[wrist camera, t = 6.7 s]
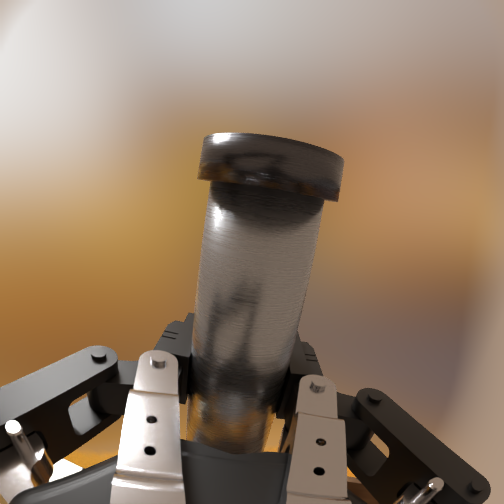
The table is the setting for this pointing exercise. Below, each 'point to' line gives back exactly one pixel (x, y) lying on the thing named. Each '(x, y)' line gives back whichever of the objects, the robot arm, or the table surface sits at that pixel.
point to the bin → (360, 490)
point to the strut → (252, 280)
